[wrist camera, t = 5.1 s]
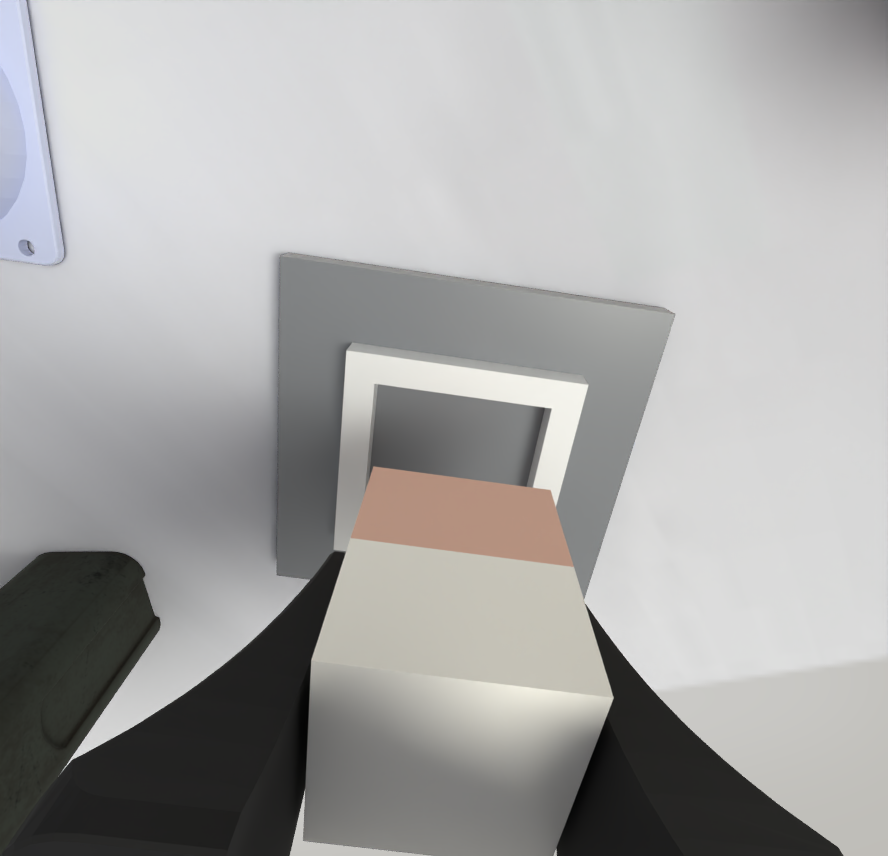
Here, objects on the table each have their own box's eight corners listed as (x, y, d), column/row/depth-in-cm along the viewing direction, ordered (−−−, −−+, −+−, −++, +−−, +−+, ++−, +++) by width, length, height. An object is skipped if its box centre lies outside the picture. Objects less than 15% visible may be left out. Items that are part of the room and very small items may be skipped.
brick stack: (360, 604, 15) (302, 840, 9) (373, 466, 13) (310, 661, 8) (516, 624, 15) (548, 868, 10) (550, 490, 13) (613, 698, 8)
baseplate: (283, 560, 23) (268, 591, 21) (289, 252, 18) (269, 259, 16) (574, 597, 23) (584, 632, 22) (664, 308, 18) (687, 320, 16)
